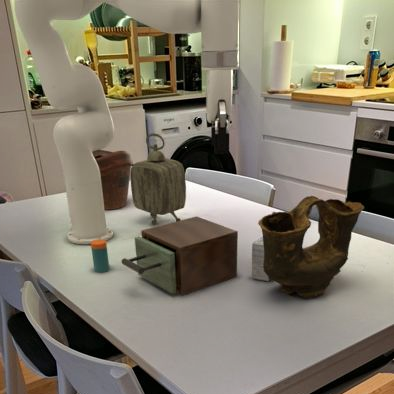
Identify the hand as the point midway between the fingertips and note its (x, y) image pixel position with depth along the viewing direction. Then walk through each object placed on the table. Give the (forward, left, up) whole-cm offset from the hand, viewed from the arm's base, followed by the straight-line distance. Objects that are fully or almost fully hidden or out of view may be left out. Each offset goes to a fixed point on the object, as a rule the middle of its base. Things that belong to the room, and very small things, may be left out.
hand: (220, 149), depth 114 cm
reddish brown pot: (-63, +3, -26) cm, 68 cm away
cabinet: (+3, -12, -26) cm, 29 cm away
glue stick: (-14, -26, -26) cm, 39 cm away
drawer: (+3, -18, -25) cm, 31 cm away
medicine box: (+14, +2, -26) cm, 30 cm away
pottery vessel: (+25, +3, -26) cm, 37 cm away
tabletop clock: (-35, +5, -26) cm, 44 cm away
